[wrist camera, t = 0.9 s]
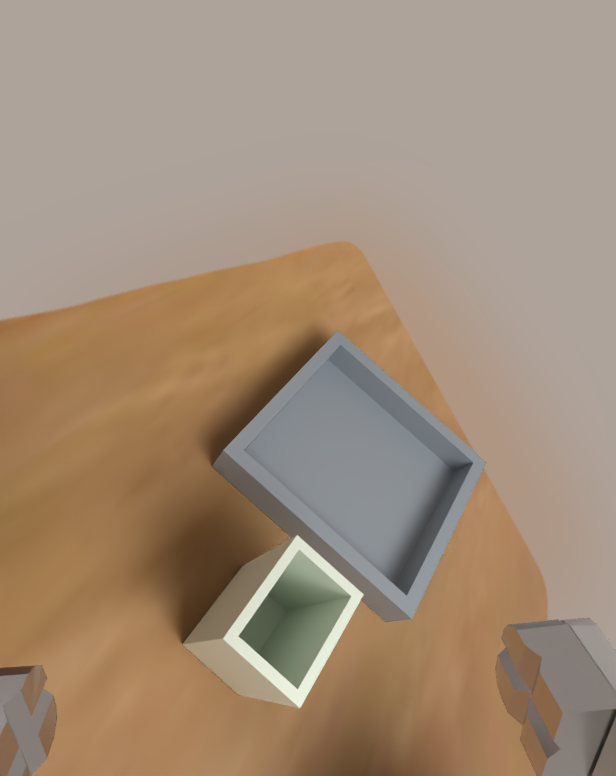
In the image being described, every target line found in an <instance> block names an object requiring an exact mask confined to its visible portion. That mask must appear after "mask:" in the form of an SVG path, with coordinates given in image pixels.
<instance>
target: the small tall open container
mask: <svg viewBox="0 0 616 776" xmlns="http://www.w3.org/2000/svg"><path fill="white" fill-rule="evenodd" d="M363 595H364V594H363V593H362V592H360V591H359V590H358V589H357V588H356V587H355V586H354V585H353V584H351V583H350V582H349V581H348V580H347V579H346V578H345V577H344V576H343V575H341V574H340V573H339V572H338V571H337V570H336V569H335V568H334V567H332V566H331V565H330V564H329V563H328V562H327V561H326V560H325V559H324V558H322V557H321V556H320V555H319V554H318V553H317V552H316V551H315V550H313V549H312V548H311V547H310V546H309V545H308V544H307V543H306V542H305V541H303V540H302V539H301V538H300V537H299V536H298V535H296V536H294V537H292V538H291V539H289V540H287V541H285V542H284V543H282V544H280V545H278V546H276V547H275V548H273V549H271V550H269V551H268V552H266V553H264V554H262V555H260V556H259V557H257V558H255V559H253V560H251V561H250V562H248V563H246V564H244V565H243V566H242V567H241V568H240V569H239V571H238V572H237V573H236V575H235V576H234V577H233V579H232V580H231V581H230V583H229V584H228V585H227V586H226V588H225V589H224V590H223V592H222V593H221V594H220V596H219V597H218V598H217V600H216V601H215V602H214V603H213V605H212V606H211V607H210V609H209V610H208V611H207V613H206V614H205V615H204V617H203V618H202V619H201V620H200V622H199V623H198V624H197V626H196V627H195V628H194V630H193V631H192V632H191V634H190V635H189V636H188V637H187V639H186V640H185V641H184V643H183V644H182V645H183V646H184V647H186V648H187V649H188V650H189V651H190V652H191V653H192V654H193V655H194V656H195V657H197V658H198V659H199V660H200V661H201V662H202V663H203V664H204V665H205V666H207V667H208V668H209V669H210V670H211V671H212V672H213V673H214V674H215V675H217V676H218V677H219V678H220V679H221V680H222V681H223V682H224V683H225V684H227V685H228V686H229V687H230V688H231V689H232V690H233V691H234V692H235V693H237V694H238V695H241V696H246V697H250V698H255V699H259V700H264V701H269V702H273V703H278V704H283V705H287V706H292V707H296V708H300V707H301V706H302V704H303V702H304V700H305V698H306V697H307V695H308V693H309V691H310V689H311V688H312V686H313V684H314V682H315V681H316V679H317V677H318V675H319V673H320V672H321V670H322V668H323V666H324V665H325V663H326V661H327V659H328V657H329V656H330V654H331V652H332V650H333V648H334V647H335V645H336V643H337V641H338V640H339V638H340V636H341V634H342V632H343V631H344V629H345V627H346V625H347V624H348V622H349V620H350V618H351V616H352V615H353V613H354V611H355V609H356V607H357V606H358V604H359V602H360V600H361V599H362V597H363Z"/></svg>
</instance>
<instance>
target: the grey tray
mask: <svg viewBox="0 0 616 776" xmlns="http://www.w3.org/2000/svg"><path fill="white" fill-rule="evenodd" d="M485 464H486V461H484V459H482V458H481V457H480V456H479V455H478V454H477V453H476V452H474V451H473V450H472V449H471V448H470V447H469V446H468V445H467V444H465V443H464V442H463V441H462V440H461V439H460V438H459V437H458V436H456V435H455V434H454V433H453V432H452V431H451V430H450V429H449V428H447V427H446V426H445V425H444V424H443V423H442V422H441V421H440V420H438V419H437V418H436V417H435V416H434V415H433V414H432V413H430V412H429V411H428V410H427V409H426V408H425V407H424V406H423V405H421V404H420V403H419V402H418V401H417V400H416V399H415V398H414V397H412V396H411V395H410V394H409V393H408V392H407V391H406V390H405V389H403V388H402V387H401V386H400V385H399V384H398V383H397V382H396V381H394V380H393V379H392V378H391V377H390V376H389V375H388V374H386V373H385V372H384V371H383V370H382V369H381V368H380V367H379V366H377V365H376V364H375V363H374V362H373V361H372V360H371V359H370V358H368V357H367V356H366V355H365V354H364V353H363V352H362V351H361V350H359V349H358V348H357V347H356V346H355V345H354V344H353V343H352V342H350V341H349V340H348V339H347V338H346V337H345V336H344V335H342V334H341V333H340V332H339V331H337V332H336V333H335V334H334V335H333V336H332V337H331V338H330V339H329V340H328V341H327V342H326V343H325V344H324V345H323V346H322V347H321V348H320V349H319V351H318V352H317V353H316V354H315V355H314V356H313V357H312V358H311V359H310V360H309V361H308V362H307V363H306V364H305V365H304V366H303V367H302V368H301V369H300V370H299V371H298V372H297V374H296V375H295V376H294V377H293V378H292V379H291V380H290V381H289V382H288V383H287V384H286V385H285V386H284V387H283V388H282V389H281V390H280V391H279V392H278V393H277V394H276V395H275V397H274V398H273V399H272V400H271V401H270V402H269V403H268V404H267V405H266V406H265V407H264V408H263V409H262V410H261V411H260V412H259V413H258V414H257V415H256V416H255V417H254V418H253V420H252V421H251V422H250V423H249V424H248V425H247V426H246V427H245V428H244V429H243V430H242V431H241V432H240V433H239V434H238V435H237V436H236V437H235V438H234V439H233V440H232V441H231V443H230V444H229V445H228V446H227V447H226V448H225V449H224V450H223V451H222V453H221V454H220V455H219V457H218V458H217V460H216V461H215V462H214V464H213V465H212V467H213V468H214V469H215V470H216V471H218V472H219V473H220V474H221V475H222V476H223V477H224V478H225V479H227V480H228V481H229V482H230V483H231V484H232V485H233V486H234V487H235V488H237V489H238V490H239V491H240V492H241V493H242V494H243V495H244V496H246V497H247V498H248V499H249V500H250V501H251V502H252V503H253V504H254V505H256V506H257V507H258V508H259V509H260V510H261V511H262V512H263V513H265V514H266V515H267V516H268V517H269V518H270V519H271V520H272V521H273V522H275V523H276V524H277V525H278V526H279V527H280V528H281V529H282V530H284V531H285V532H286V533H287V534H288V535H289V536H290V537H291V538H292V537H294V536H296V535H298V536H299V537H300V538H301V539H302V540H303V541H305V542H306V543H307V544H308V545H309V546H310V547H311V548H312V549H313V550H315V551H316V552H317V553H318V554H319V555H320V556H321V557H322V558H324V559H325V560H326V561H327V562H328V563H329V564H330V565H331V566H332V567H334V568H335V569H336V570H337V571H338V572H339V573H340V574H341V575H343V576H344V577H345V578H346V579H347V580H348V581H349V582H350V583H351V584H353V585H354V586H355V587H356V588H357V589H358V590H359V591H360V592H362V593H363V594H364V595H363V597H362V599H361V600H362V601H363V602H364V603H365V604H366V605H367V606H368V607H370V608H371V609H372V610H373V611H374V612H375V613H376V614H377V615H378V616H380V617H381V618H382V619H383V620H384V621H385V622H391V621H399V620H408V619H412V618H413V616H414V613H415V611H416V609H417V607H418V605H419V603H420V601H421V599H422V597H423V595H424V592H425V590H426V588H427V586H428V584H429V582H430V580H431V578H432V576H433V574H434V571H435V569H436V567H437V565H438V563H439V561H440V559H441V557H442V555H443V553H444V550H445V548H446V546H447V544H448V542H449V540H450V538H451V536H452V534H453V532H454V529H455V527H456V525H457V523H458V521H459V519H460V517H461V515H462V513H463V511H464V508H465V506H466V504H467V502H468V500H469V498H470V496H471V494H472V492H473V490H474V487H475V485H476V483H477V481H478V479H479V477H480V475H481V473H482V471H483V469H484V466H485Z"/></svg>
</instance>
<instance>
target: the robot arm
mask: <svg viewBox="0 0 616 776" xmlns="http://www.w3.org/2000/svg"><path fill="white" fill-rule="evenodd" d="M502 641H503V643H504V645H505V647H506V648H505V649H504V650H503V651H502V652H501V653H500V654H499V655H498V656H497V662H496V668H495V670H496V678H497V685H498V689H499V692H500V695H501V698H502V700H503V703H504V705H505V707H506V710H507V712H508V713H509V714H510V715H511V716H512V717H514V718H515V719H516V720H517V721H518V722H519V723H521V724H522V730H521V736H520V741H521V743H522V745H523V747H524V749H525V752H526V754H527V756H528V758H529V760H530V762H531V765H532V767H533V769H534V771H535V773H536V776H616V649H615V648H614V647H613V645H612V644H611V643H610V641H609V640H608V639H607V637H606V636H605V634H604V633H603V632H602V630H601V629H600V628H599V626H598V625H597V624H596V623H595V622H594V621H592V620H591V619H590V618H578V619H569V620H548V621H538V622H529V623H519V624H509V625H507V626H506V627H505V628H504V631H503V635H502ZM46 680H47V676H46V674H45V671H44V669H43V667H42V665H36V666H20V667H4V668H0V776H32V774H33V773H34V772H35V771H36V770H37V768H38V767H39V766H40V765H41V764H42V763H43V762H44V761H45V760H46V759H47V757H48V754H49V751H50V748H51V745H52V742H53V739H54V734H55V728H56V721H57V709H56V703H55V699H54V696H53V695H52V694H51V693H49V692H47V691H46V690H44V689H43V687H44V685H45V682H46Z"/></svg>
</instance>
